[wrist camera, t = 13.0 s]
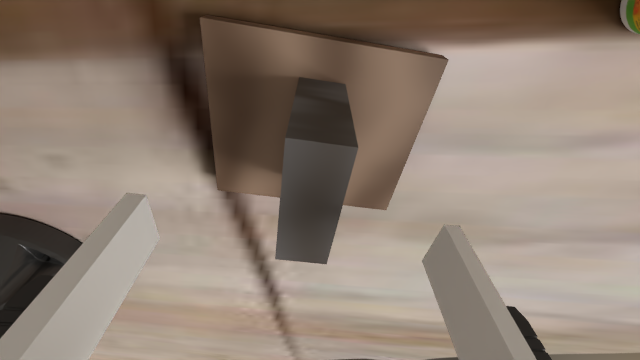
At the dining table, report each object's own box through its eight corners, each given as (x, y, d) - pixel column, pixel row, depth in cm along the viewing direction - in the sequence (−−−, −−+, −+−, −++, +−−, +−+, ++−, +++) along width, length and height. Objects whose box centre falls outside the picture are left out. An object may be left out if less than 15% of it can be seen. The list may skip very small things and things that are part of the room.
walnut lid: (224, 176, 24) (177, 273, 17) (211, 13, 17) (110, 48, 9) (382, 195, 26) (408, 294, 18) (437, 52, 18) (527, 113, 10)
